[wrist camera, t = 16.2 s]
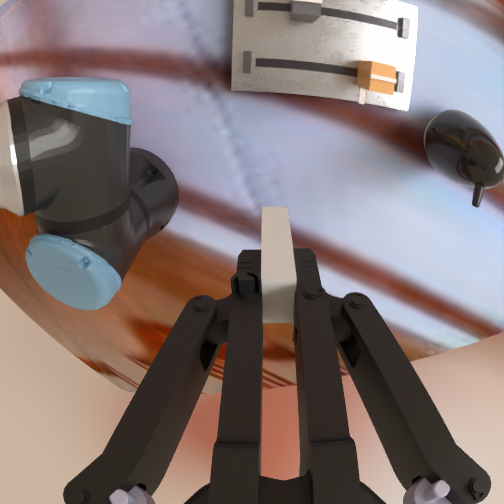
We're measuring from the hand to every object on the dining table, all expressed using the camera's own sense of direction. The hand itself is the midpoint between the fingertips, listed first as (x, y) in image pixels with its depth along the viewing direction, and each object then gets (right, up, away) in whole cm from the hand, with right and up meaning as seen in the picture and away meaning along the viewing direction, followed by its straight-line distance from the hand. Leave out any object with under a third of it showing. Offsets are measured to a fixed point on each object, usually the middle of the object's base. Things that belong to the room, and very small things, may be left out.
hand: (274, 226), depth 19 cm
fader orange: (+14, +21, +14) cm, 29 cm away
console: (+8, +26, +14) cm, 31 cm away
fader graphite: (+5, +28, +10) cm, 30 cm away
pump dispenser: (+28, +16, +20) cm, 38 cm away
